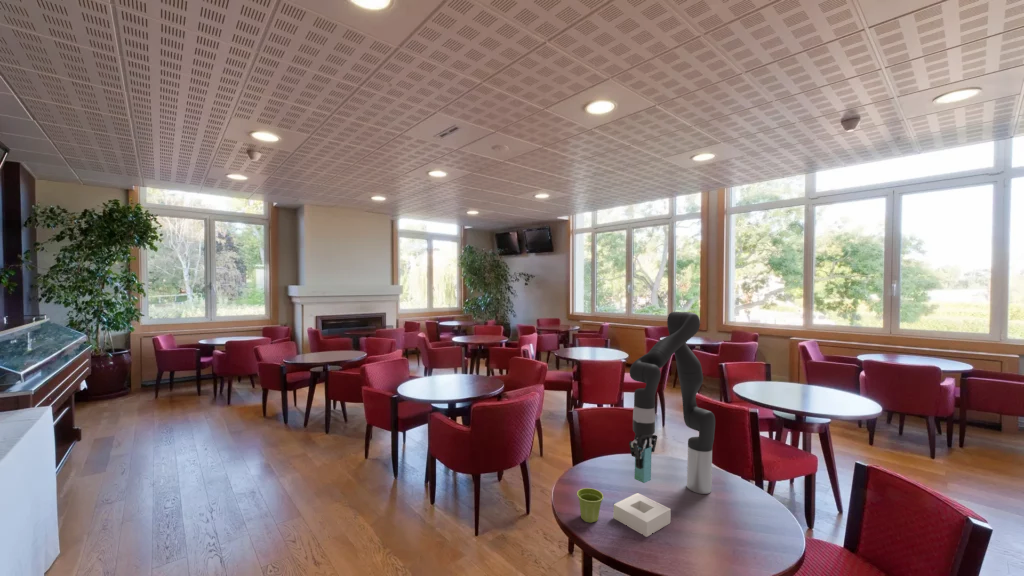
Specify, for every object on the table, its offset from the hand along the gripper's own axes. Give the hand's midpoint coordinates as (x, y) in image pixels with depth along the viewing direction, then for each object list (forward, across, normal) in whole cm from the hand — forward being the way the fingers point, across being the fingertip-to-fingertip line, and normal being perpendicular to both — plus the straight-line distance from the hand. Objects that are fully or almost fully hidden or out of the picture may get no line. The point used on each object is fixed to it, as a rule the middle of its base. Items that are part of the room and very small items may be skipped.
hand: (642, 466), depth 152 cm
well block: (+20, 0, 0) cm, 20 cm away
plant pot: (+20, +14, -12) cm, 27 cm away
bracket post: (+5, 0, 0) cm, 5 cm away
